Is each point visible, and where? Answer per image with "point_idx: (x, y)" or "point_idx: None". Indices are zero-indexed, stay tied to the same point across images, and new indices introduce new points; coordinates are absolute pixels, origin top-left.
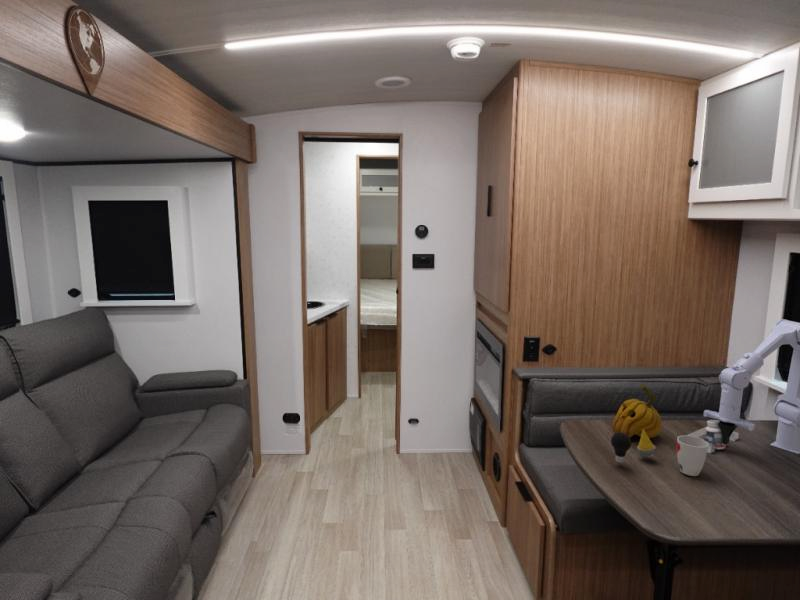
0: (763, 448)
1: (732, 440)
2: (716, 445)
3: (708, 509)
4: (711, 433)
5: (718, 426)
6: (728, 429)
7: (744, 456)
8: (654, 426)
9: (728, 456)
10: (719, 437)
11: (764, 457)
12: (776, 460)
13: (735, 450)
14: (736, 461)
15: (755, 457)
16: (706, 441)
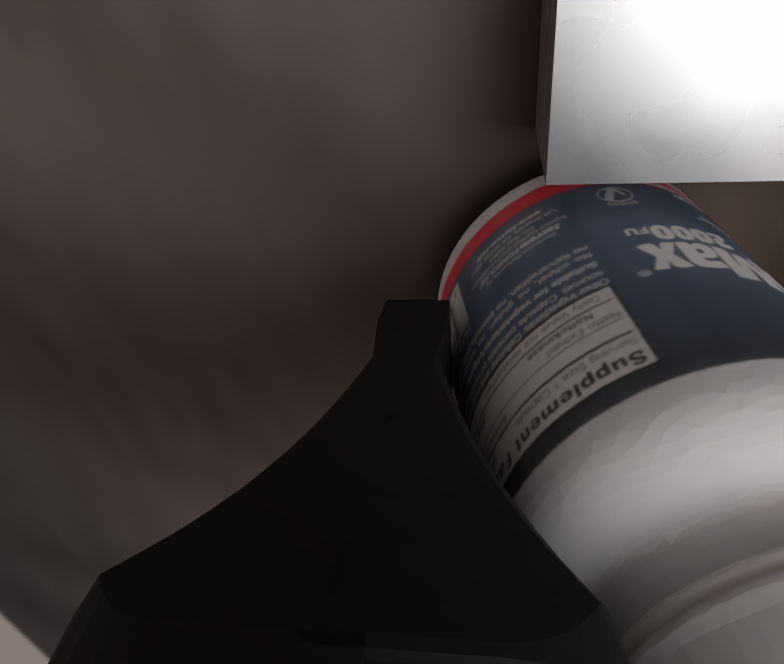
0: None
1: None
2: (534, 209)
3: None
4: (723, 331)
5: (633, 628)
6: (199, 551)
7: (207, 338)
8: None
9: (304, 137)
10: (520, 356)
11: (107, 483)
12: (16, 501)
13: None
14: (124, 48)
15: (138, 413)
16: (745, 173)
